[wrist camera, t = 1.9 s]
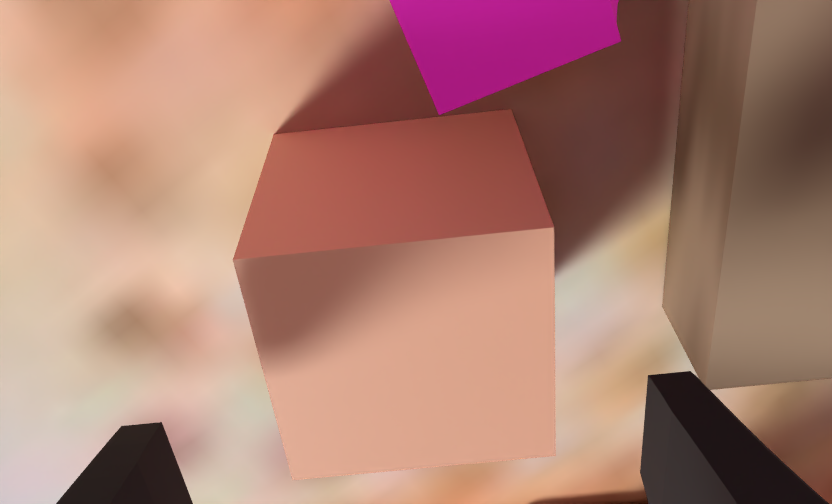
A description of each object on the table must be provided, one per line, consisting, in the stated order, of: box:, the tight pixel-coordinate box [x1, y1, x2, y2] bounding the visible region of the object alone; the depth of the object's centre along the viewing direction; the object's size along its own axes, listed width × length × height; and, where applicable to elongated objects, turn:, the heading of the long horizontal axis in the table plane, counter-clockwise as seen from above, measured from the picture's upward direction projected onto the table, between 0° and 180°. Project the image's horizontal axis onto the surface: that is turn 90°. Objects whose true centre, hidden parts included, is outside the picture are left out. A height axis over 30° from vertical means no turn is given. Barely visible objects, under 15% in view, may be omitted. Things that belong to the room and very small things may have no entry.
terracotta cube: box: [233, 109, 556, 480], centre depth 15 cm, size 5×5×5 cm
